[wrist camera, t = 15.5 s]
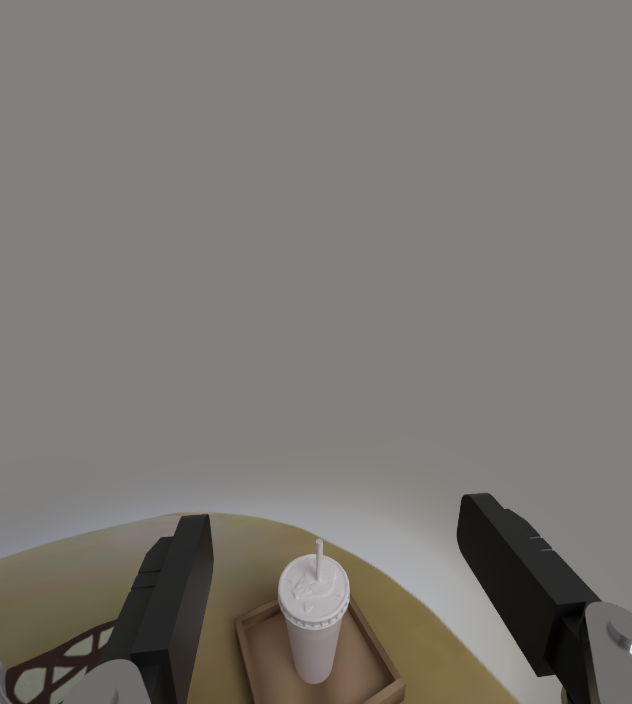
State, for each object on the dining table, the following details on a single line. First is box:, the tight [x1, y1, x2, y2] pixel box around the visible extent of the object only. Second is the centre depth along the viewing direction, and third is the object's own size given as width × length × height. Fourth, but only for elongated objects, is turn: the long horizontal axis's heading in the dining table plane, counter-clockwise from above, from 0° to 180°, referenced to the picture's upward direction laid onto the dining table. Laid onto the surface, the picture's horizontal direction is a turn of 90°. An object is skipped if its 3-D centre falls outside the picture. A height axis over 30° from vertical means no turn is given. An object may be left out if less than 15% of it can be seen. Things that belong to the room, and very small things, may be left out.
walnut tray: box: [234, 594, 405, 704], centre depth 32 cm, size 12×12×2 cm
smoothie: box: [278, 539, 350, 684], centre depth 30 cm, size 6×6×14 cm
